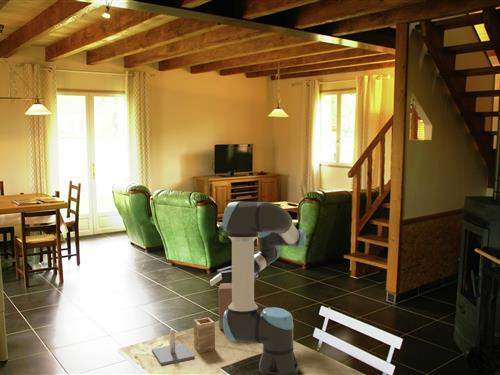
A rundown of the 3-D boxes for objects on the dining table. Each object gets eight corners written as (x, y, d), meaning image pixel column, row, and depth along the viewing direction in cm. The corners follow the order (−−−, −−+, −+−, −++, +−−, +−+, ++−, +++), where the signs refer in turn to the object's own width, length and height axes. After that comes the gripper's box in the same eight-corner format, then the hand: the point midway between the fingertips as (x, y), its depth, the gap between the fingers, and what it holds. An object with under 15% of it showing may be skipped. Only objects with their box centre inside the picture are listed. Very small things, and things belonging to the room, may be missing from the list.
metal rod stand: (194, 358, 197) (194, 332, 196) (161, 365, 191) (160, 338, 190) (183, 345, 211) (182, 320, 210) (151, 351, 205) (151, 326, 204)
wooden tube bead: (215, 349, 205) (214, 322, 204) (199, 352, 202) (198, 325, 201) (209, 343, 212) (208, 317, 211) (194, 346, 209) (193, 319, 208)
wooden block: (240, 329, 228) (239, 288, 226) (219, 330, 228) (218, 288, 226) (241, 322, 238) (240, 282, 236) (220, 322, 238) (219, 282, 236)
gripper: (276, 280, 214) (244, 305, 200) (235, 264, 230) (203, 286, 216) (274, 266, 211) (242, 290, 197) (233, 250, 227) (200, 272, 213)
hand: (221, 288), depth 206 cm, fingers open, 13 cm apart
